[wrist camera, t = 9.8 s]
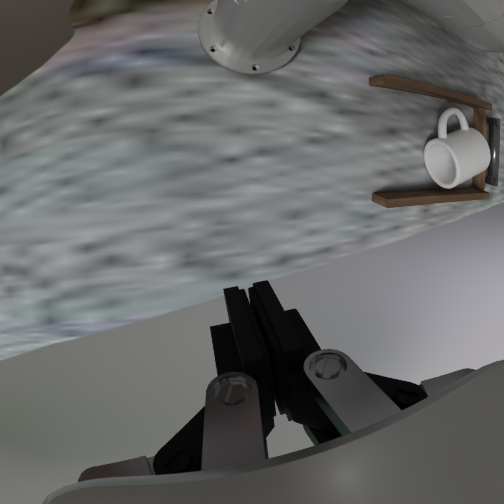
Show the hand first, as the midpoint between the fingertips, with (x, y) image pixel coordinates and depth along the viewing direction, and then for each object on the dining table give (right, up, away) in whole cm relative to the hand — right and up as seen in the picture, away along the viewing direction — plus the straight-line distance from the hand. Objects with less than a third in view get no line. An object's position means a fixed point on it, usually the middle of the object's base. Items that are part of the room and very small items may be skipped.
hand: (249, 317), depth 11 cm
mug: (+32, +21, +28) cm, 48 cm away
